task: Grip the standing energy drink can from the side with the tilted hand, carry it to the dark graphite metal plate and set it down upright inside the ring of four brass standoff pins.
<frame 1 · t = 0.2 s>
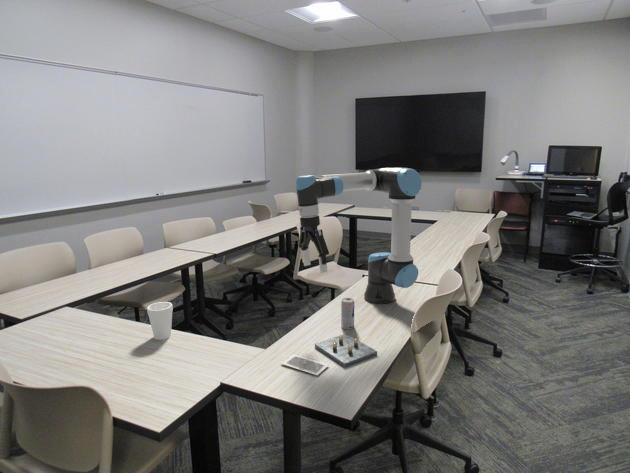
hand: (315, 268, 165), 27 cm above the table, tool pointing down, fingers open, 13 cm apart
touchpad: (304, 367, 144), on the table
standoff plate: (345, 351, 154), on the table
foam cup: (162, 336, 168), on the table
energy drink: (347, 327, 175), on the table
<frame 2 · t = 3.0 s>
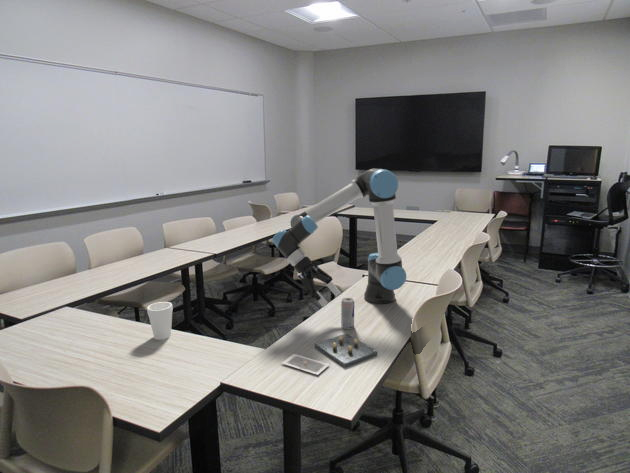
hand: (332, 299, 174), 11 cm above the table, tool tilted 45°, fingers open, 13 cm apart
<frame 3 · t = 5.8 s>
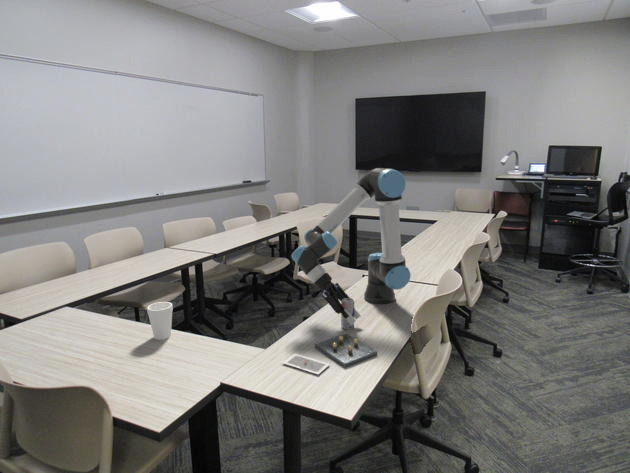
hand: (356, 320, 172), 4 cm above the table, tool tilted 45°, fingers closed on energy drink, 5 cm apart
energy drink: (347, 327, 175), on the table, touching gripper
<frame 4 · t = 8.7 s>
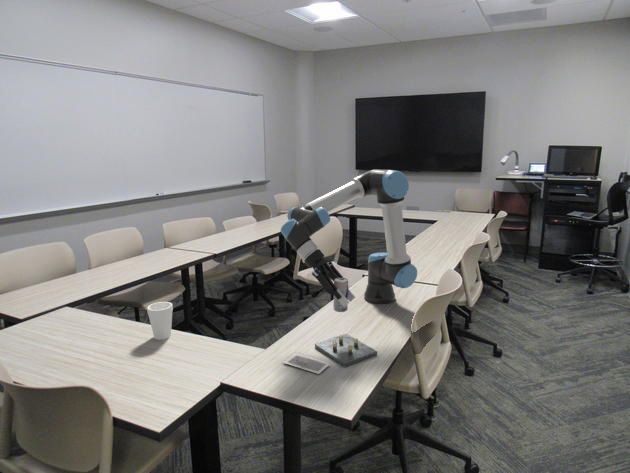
hand: (349, 302, 156), 17 cm above the table, tool tilted 45°, fingers closed on energy drink, 5 cm apart
energy drink: (340, 310, 158), point 13 cm above the table, touching gripper
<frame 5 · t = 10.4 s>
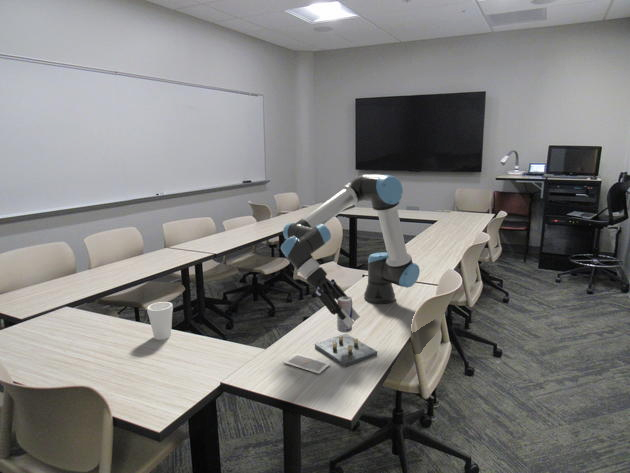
hand: (354, 321, 150), 12 cm above the table, tool tilted 45°, fingers closed on energy drink, 5 cm apart
energy drink: (344, 330, 152), point 8 cm above the table, touching gripper
when the fingers open (7 cm above the table, at t = 11.9 s): energy drink drops 2 cm, resting on standoff plate.
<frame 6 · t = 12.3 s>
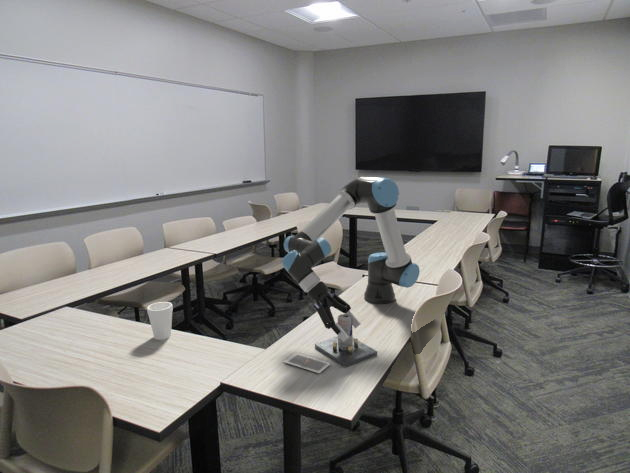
hand: (352, 332, 151), 8 cm above the table, tool tilted 45°, fingers open, 11 cm apart
energy drink: (345, 347, 154), point 1 cm above the table, touching standoff plate
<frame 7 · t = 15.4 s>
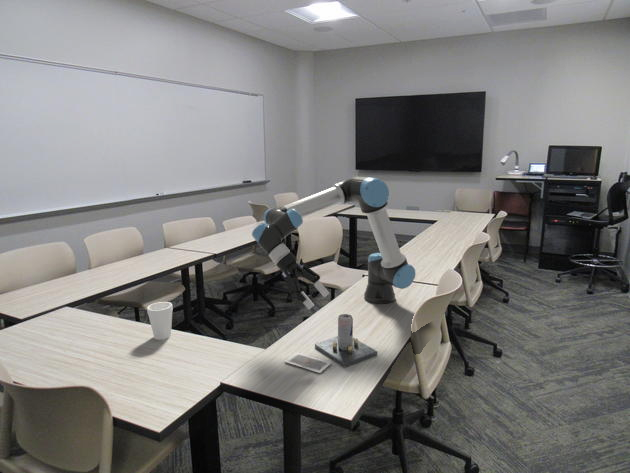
hand: (319, 301, 155), 18 cm above the table, tool tilted 45°, fingers open, 13 cm apart
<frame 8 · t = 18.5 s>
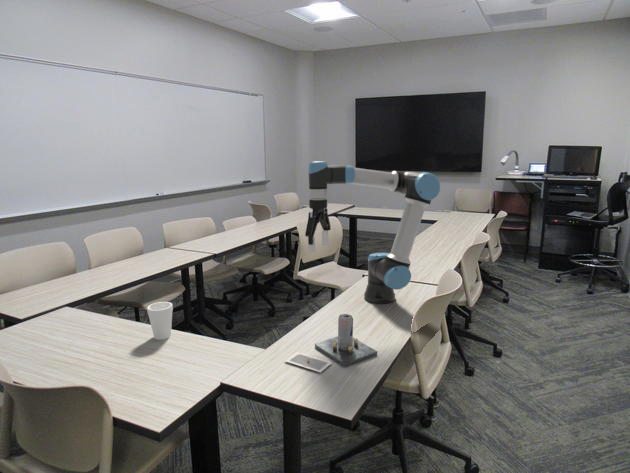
hand: (318, 248, 178), 32 cm above the table, tool pointing down, fingers open, 13 cm apart
at the end: energy drink 0.2 cm off-centre on the standoff plate, point 1.3 cm above the standoff plate's base; energy drink tilted 0°; the gripper is holding nothing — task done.
